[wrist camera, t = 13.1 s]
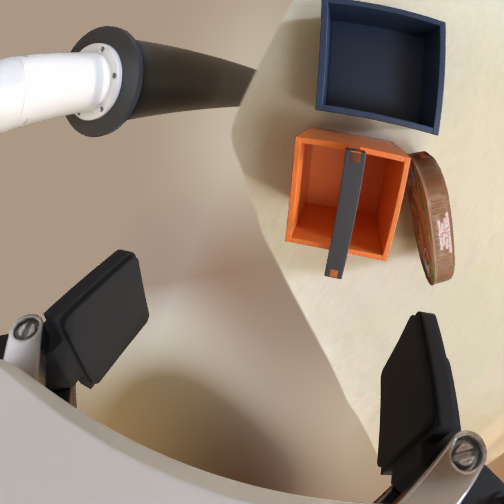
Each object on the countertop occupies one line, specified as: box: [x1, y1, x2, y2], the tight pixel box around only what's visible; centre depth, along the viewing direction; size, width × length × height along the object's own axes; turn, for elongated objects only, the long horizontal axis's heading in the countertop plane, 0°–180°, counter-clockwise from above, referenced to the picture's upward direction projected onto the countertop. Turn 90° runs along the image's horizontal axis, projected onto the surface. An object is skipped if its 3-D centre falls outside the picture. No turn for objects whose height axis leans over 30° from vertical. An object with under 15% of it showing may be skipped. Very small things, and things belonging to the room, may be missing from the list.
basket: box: [285, 128, 411, 279], centre depth 26 cm, size 10×10×15 cm
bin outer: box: [316, 0, 446, 136], centre depth 22 cm, size 12×12×7 cm
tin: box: [406, 151, 455, 285], centre depth 27 cm, size 15×3×8 cm, turn 23°
